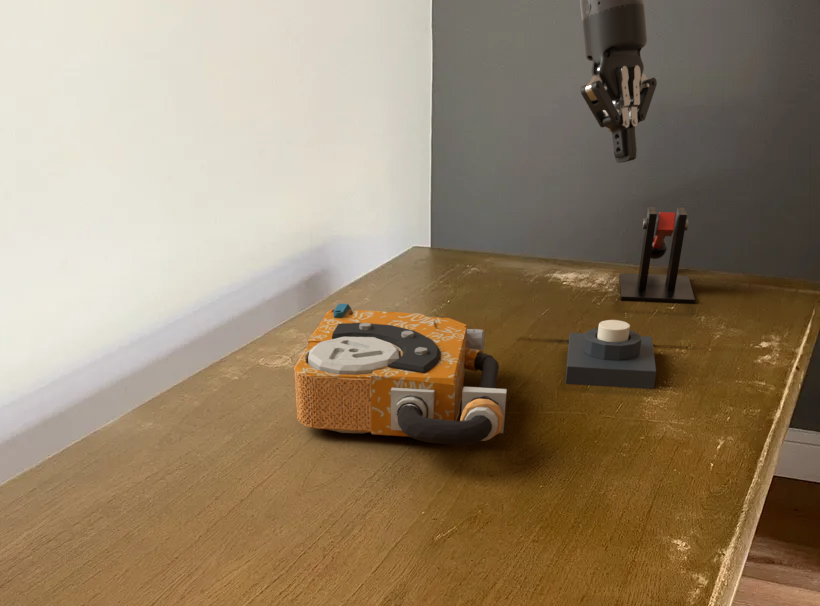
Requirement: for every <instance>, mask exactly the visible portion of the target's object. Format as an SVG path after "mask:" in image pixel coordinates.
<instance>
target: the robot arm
mask: <svg viewBox="0 0 820 606" xmlns="http://www.w3.org/2000/svg"><path fill="white" fill-rule="evenodd" d="M579 7H580V15H581V17H580V18H581V26H582V34H583V35H582V36H583V45H584V46H583V47H584V54H585V55H584V56H585V58H586V59H587V60H588V61H590V62H592V66H591V76H592V77H591V79H590V81H589V82H588V83H587V84H584V85H582V86H581V87H580V94H581V96H582V98H583V100H584V101H585V103H586V105H587V106H588V108H589V110H590V112H592V115H593V116H594V118H595V120H596V121H597V124H598V125H599V127H600V128H607V129H608V131H609V132H610V133H611V134H612V136H611V137H612V145H613V156H614V159H615V162H616V163H617V164H620V163H626V162H631V161H635V160H636V158H637V138H636V127H637V126H638V124H639V123H640V122H643V121H645V120H646V117H647V116H648V111H649V108H650V106H651V103H652V100H653V97H654V93H655V91H656V88H657V85H658V81H657V79H656V77H650V78H648V76H647V75H646V74H645V73H644V69H645V67H644V66H645V65H644V62H643V60H642V57H641V51H642V49H643V48H644V47H645V46H646V45H647V42H648V38H647V25H646V11H645V1H644V0H579Z"/></svg>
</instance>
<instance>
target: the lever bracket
mask: <svg viewBox="0 0 820 606" xmlns="http://www.w3.org/2000/svg"><path fill="white" fill-rule="evenodd" d="M657 218H658V213H657V207H656V206H648V207H647V211H646V218H645V217H644V218H643V221H642V229H643V230H644V234H643V241H642V248H641V255H640V261H639V269H638V273H626V272H624V273H623V272H620V273H619V277H618V280H619V294H620V295H619V296H620V302H634V303H635V302H636V303H659V304H681V305H682V304H683V305H695V303H696V298H695V296H694V292H693V288H692V285H691V281H690V277H689V276H688V275H678V274H679V267H680V262H681V256H682V249H683V243H684V237H685V231H688V227H689V219H688V213H687V210H686V208H685V207H677V210H676V215H675V224H674V231H673V233H672V235H673V236H672V240H671V245H670V246H671V247H670V251H669V259H668V264H667V265H668V266H667V271H666V274H651V273H650V274H649V271H650V265H651V251H652V245H653V238H654V237H655V232H656V223H657Z"/></svg>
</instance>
